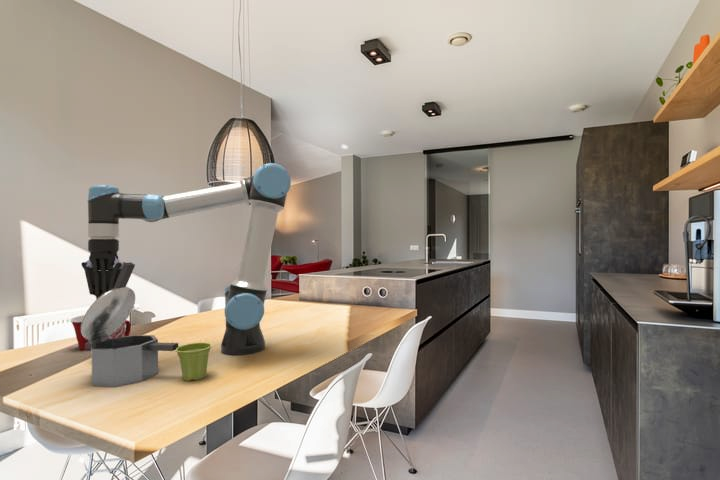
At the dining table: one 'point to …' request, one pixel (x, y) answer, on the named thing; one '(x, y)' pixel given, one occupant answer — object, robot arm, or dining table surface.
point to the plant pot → (194, 360)
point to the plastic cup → (79, 331)
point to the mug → (121, 330)
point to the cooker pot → (126, 359)
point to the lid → (109, 309)
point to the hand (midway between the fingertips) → (103, 318)
